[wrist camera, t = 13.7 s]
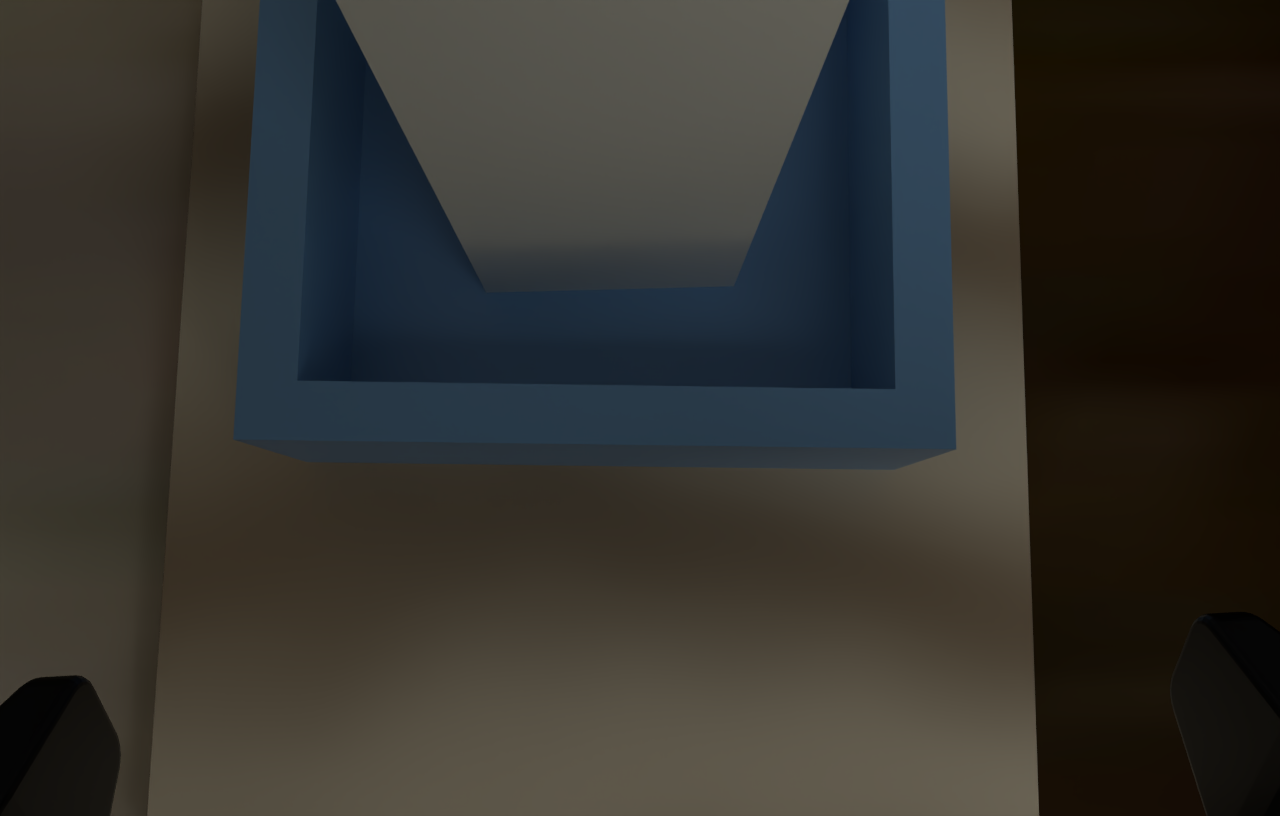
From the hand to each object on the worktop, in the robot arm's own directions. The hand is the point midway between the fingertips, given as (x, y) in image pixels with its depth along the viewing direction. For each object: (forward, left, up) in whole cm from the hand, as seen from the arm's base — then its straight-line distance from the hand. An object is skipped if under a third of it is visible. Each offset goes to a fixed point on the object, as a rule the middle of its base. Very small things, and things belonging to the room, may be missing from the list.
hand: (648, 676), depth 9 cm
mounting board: (+7, +1, -10) cm, 12 cm away
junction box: (+7, +1, -9) cm, 12 cm away
